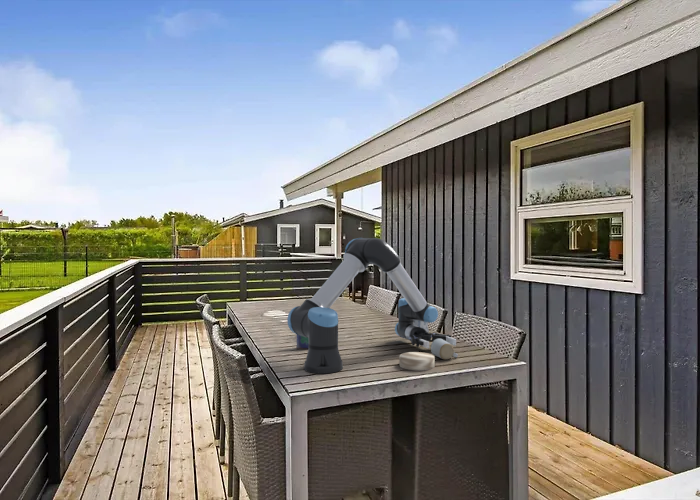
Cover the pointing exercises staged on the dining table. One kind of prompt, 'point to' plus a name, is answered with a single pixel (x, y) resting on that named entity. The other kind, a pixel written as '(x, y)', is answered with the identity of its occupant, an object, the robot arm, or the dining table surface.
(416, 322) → the incense holder
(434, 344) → the ceramic mug
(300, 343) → the flask
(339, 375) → the dining table surface
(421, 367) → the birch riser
